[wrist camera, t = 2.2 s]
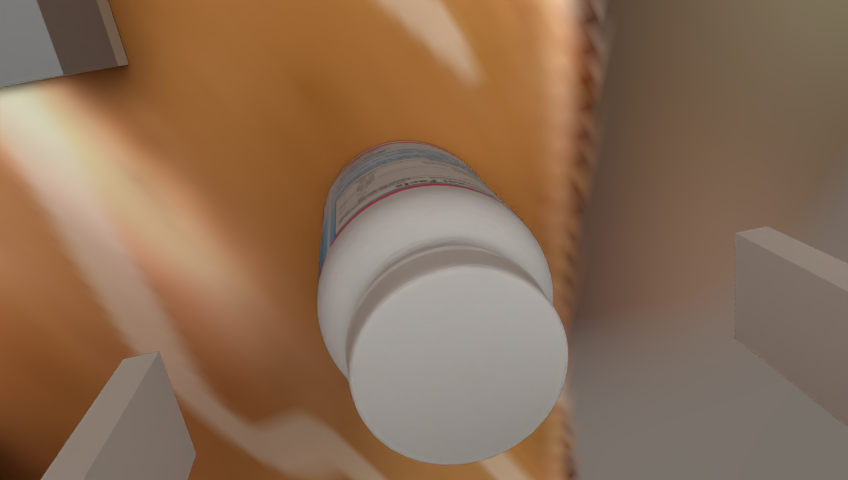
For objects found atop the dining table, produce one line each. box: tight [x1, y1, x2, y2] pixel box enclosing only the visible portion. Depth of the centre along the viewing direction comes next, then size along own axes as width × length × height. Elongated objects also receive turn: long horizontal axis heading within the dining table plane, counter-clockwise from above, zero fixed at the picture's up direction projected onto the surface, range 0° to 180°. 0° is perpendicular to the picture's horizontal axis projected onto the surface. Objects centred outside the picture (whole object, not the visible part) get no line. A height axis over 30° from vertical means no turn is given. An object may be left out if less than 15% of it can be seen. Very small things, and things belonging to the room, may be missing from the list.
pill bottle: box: [317, 141, 568, 465], centre depth 18 cm, size 6×6×11 cm
